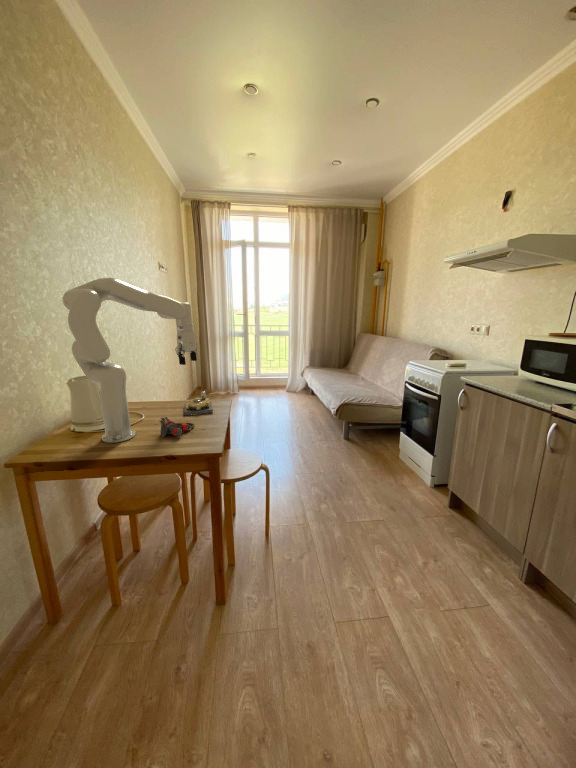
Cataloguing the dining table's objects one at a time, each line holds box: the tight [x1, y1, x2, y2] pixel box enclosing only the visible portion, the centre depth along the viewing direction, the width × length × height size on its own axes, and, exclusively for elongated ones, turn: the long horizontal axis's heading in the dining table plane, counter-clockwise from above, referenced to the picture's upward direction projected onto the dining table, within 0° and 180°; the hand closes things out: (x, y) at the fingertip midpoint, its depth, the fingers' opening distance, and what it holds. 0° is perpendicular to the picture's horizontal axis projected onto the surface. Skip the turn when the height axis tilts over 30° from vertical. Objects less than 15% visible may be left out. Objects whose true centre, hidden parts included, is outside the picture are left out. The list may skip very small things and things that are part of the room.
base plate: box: [183, 400, 214, 416], centre depth 162 cm, size 15×14×2 cm
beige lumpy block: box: [185, 390, 211, 410], centre depth 161 cm, size 13×12×6 cm
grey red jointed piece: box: [160, 416, 195, 438], centre depth 138 cm, size 6×26×15 cm
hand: (188, 362), depth 154 cm, fingers open, 9 cm apart
